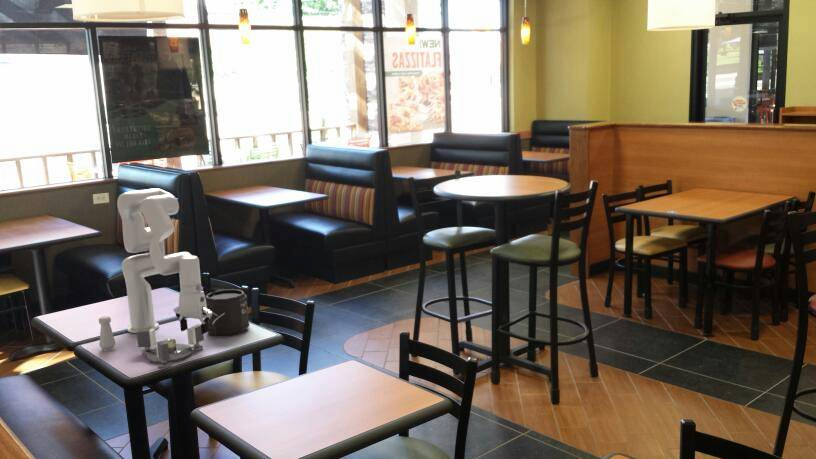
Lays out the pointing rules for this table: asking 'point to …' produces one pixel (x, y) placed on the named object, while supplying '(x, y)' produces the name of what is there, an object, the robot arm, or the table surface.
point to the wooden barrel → (227, 312)
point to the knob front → (162, 350)
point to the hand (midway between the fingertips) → (194, 331)
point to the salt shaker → (106, 334)
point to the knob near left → (195, 335)
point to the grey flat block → (146, 338)
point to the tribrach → (171, 353)
